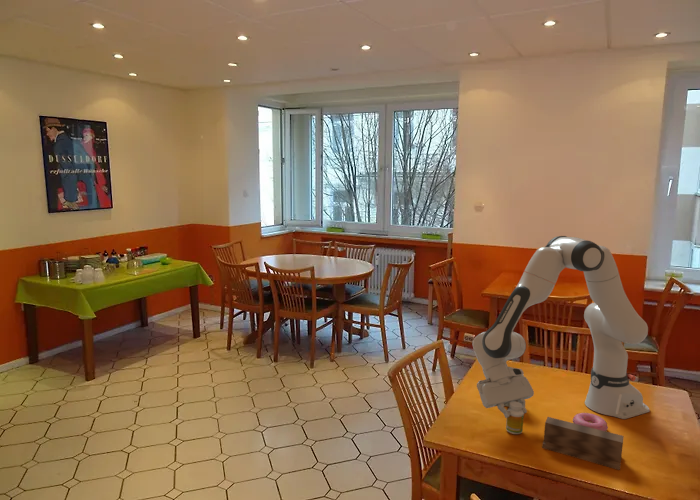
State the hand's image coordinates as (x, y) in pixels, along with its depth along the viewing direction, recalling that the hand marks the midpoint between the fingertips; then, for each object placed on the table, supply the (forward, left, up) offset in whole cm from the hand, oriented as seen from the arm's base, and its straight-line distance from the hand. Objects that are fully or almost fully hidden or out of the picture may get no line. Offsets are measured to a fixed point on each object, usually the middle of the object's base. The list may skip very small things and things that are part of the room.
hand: (516, 415), depth 165 cm
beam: (-14, +15, -6) cm, 22 cm away
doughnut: (-27, +3, -7) cm, 28 cm away
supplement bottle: (0, -1, -6) cm, 6 cm away
